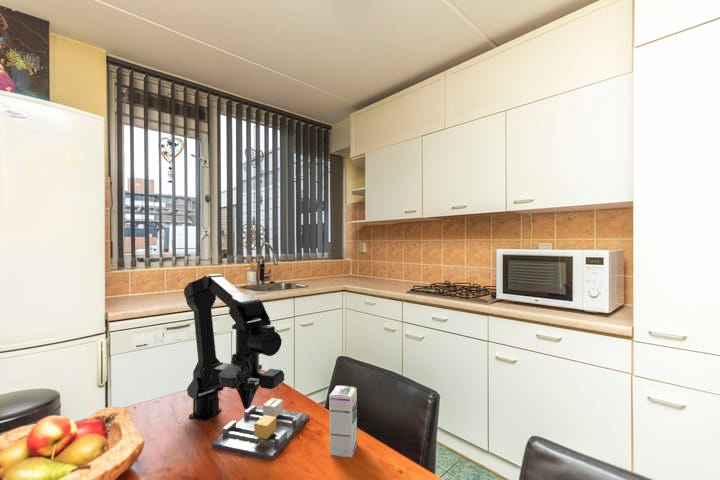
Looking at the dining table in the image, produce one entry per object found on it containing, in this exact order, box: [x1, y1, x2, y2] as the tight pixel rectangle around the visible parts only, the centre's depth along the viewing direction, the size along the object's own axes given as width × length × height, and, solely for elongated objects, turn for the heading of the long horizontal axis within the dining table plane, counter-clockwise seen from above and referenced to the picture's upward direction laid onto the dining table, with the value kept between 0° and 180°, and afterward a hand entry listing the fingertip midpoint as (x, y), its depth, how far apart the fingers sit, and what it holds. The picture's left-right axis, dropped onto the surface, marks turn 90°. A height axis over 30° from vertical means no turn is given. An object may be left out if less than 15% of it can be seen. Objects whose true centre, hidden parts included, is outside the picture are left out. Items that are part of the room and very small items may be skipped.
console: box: [211, 404, 310, 462], centre depth 89 cm, size 17×20×3 cm
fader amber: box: [254, 415, 276, 439], centre depth 84 cm, size 4×4×5 cm
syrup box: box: [328, 385, 358, 458], centre depth 81 cm, size 6×6×14 cm
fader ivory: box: [262, 397, 284, 419], centre depth 93 cm, size 4×4×5 cm
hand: (247, 408), depth 85 cm, fingers closed
